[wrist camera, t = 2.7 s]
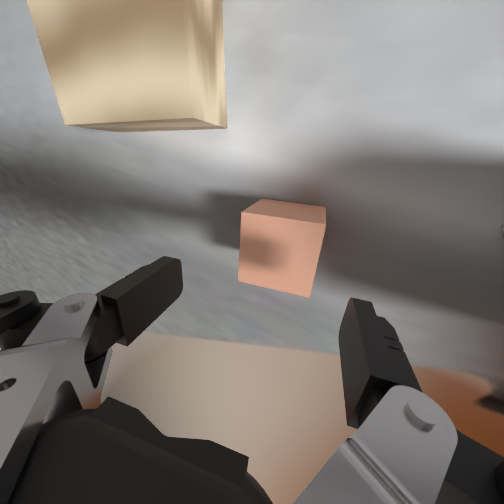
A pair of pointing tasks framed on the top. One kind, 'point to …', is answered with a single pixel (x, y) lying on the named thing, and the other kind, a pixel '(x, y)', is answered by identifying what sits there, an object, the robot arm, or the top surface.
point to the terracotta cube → (281, 245)
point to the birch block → (135, 62)
